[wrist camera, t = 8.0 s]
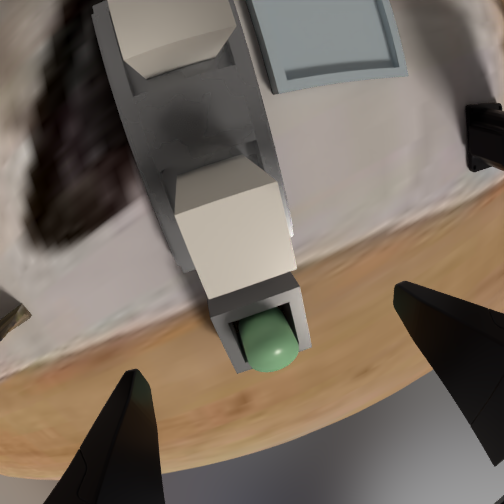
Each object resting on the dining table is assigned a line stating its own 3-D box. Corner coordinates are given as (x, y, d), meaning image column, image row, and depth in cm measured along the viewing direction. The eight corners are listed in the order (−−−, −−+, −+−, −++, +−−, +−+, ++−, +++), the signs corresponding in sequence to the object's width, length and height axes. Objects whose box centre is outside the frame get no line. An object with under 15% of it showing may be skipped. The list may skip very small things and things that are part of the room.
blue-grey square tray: (364, -39, 13) (373, -44, 12) (398, 76, 18) (408, 76, 17) (232, -38, 12) (235, -46, 11) (273, 94, 17) (278, 93, 16)
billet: (215, 57, 14) (236, 26, 8) (146, 79, 14) (123, 60, 8) (197, 0, 12) (208, -56, 6) (129, 21, 12) (101, -25, 6)
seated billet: (242, 154, 17) (277, 181, 11) (258, 214, 19) (297, 268, 13) (177, 175, 17) (174, 215, 11) (198, 234, 19) (208, 299, 13)
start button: (279, 298, 21) (294, 327, 18) (288, 331, 23) (302, 361, 20) (232, 314, 21) (241, 346, 18) (245, 346, 22) (255, 378, 20)
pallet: (222, -20, 13) (227, -34, 11) (288, 221, 21) (299, 233, 19) (95, 18, 12) (85, 9, 10) (177, 259, 20) (177, 275, 19)
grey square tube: (283, 260, 22) (299, 286, 19) (296, 319, 25) (311, 346, 22) (205, 287, 22) (210, 317, 19) (229, 343, 25) (237, 373, 22)
